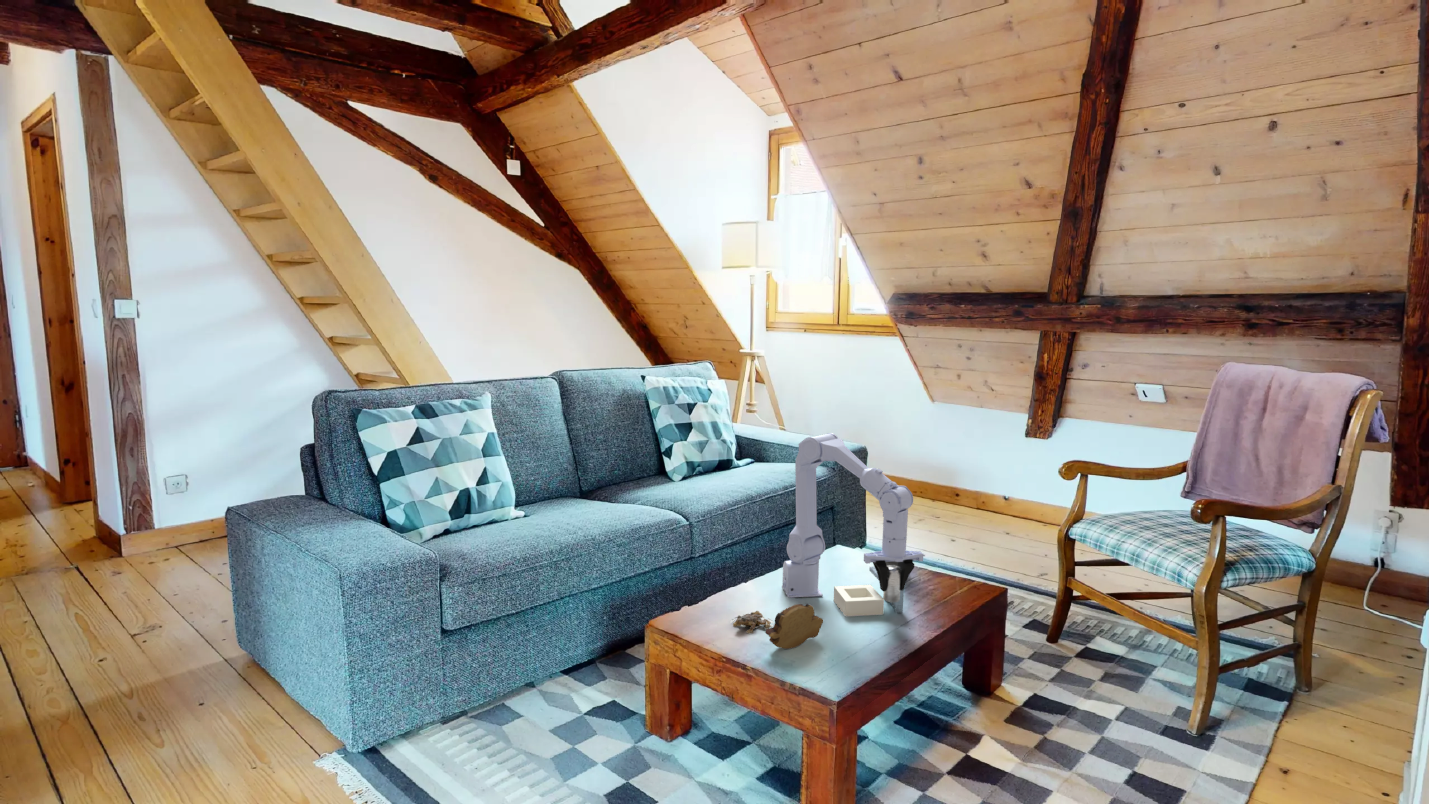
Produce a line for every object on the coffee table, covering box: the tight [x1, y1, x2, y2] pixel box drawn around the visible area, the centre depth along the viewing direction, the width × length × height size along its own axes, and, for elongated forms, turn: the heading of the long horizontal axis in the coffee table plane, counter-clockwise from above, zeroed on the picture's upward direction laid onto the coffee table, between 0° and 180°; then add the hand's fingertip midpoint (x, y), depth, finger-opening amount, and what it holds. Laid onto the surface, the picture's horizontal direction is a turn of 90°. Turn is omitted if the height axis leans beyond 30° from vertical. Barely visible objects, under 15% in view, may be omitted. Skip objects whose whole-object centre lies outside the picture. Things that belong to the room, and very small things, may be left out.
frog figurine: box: [729, 610, 775, 635], centre depth 197 cm, size 12×12×4 cm
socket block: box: [833, 584, 885, 617], centre depth 209 cm, size 10×10×4 cm
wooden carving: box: [764, 603, 824, 650], centre depth 186 cm, size 16×5×10 cm, turn 131°
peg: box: [882, 565, 901, 603], centre depth 198 cm, size 4×4×8 cm
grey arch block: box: [869, 566, 905, 614], centre depth 209 cm, size 6×10×9 cm, turn 9°
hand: (891, 589), depth 199 cm, fingers closed on peg, 4 cm apart
